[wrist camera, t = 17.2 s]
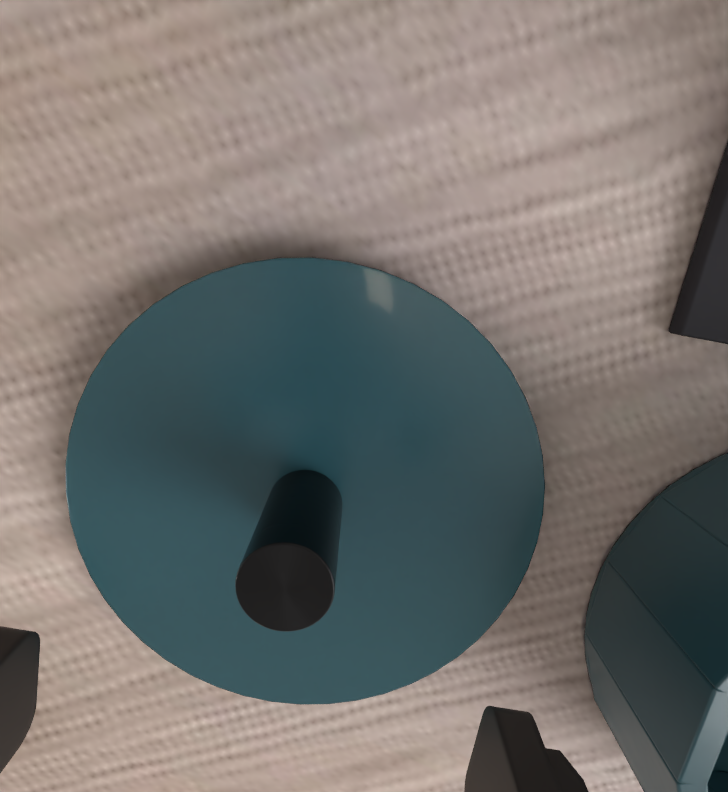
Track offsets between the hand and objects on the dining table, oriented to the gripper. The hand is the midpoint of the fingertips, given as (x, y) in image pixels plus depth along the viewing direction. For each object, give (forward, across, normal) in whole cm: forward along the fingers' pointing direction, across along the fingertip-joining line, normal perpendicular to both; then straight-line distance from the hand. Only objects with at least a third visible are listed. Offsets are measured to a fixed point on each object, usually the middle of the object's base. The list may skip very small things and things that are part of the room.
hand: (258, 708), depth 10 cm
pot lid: (+9, 0, 0) cm, 9 cm away
